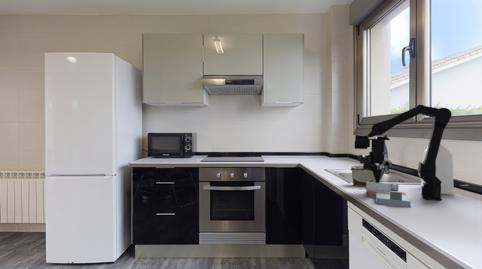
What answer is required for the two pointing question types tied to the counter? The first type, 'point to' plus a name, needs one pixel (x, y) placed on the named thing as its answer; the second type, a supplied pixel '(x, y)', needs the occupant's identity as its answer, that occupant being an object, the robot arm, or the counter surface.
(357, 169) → the food container
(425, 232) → the counter surface
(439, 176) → the milk
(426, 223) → the counter surface
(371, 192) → the jamb board
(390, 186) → the lock bar
